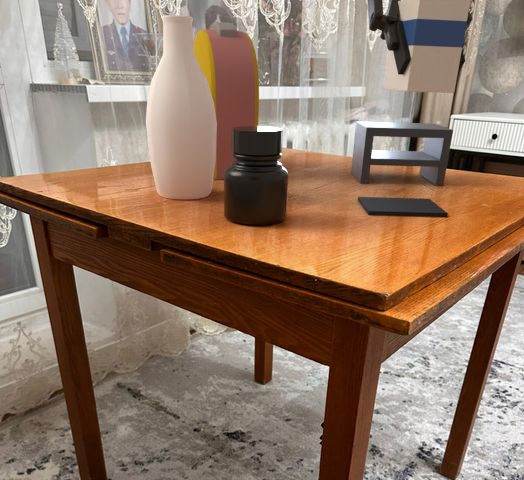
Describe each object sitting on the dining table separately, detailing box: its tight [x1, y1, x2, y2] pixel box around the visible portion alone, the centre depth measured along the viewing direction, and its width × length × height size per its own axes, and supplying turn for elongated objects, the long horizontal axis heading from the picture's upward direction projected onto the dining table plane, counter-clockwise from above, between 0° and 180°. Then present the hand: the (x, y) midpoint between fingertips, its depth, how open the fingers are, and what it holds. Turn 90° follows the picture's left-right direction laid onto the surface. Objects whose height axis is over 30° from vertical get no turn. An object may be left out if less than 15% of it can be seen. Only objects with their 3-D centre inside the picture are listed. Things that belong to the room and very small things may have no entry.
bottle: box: [145, 14, 217, 201], centre depth 85 cm, size 11×11×25 cm
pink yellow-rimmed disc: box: [193, 21, 260, 180], centre depth 107 cm, size 21×9×26 cm, turn 17°
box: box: [382, 0, 471, 94], centre depth 75 cm, size 7×9×11 cm
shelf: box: [350, 120, 454, 187], centre depth 107 cm, size 16×12×10 cm
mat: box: [357, 196, 449, 218], centre depth 86 cm, size 12×10×1 cm
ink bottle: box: [223, 125, 289, 226], centre depth 75 cm, size 10×9×12 cm
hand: (431, 67), depth 74 cm, fingers closed on box, 7 cm apart
